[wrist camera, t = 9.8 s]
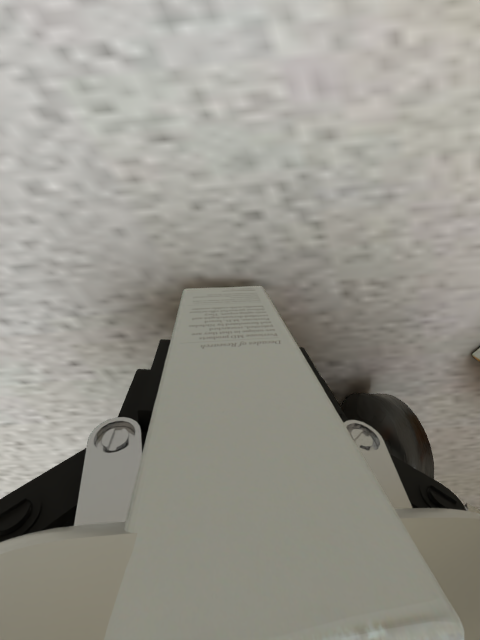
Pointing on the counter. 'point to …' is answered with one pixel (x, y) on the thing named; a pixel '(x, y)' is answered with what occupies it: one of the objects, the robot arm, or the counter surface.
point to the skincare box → (262, 500)
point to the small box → (477, 354)
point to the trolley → (393, 427)
